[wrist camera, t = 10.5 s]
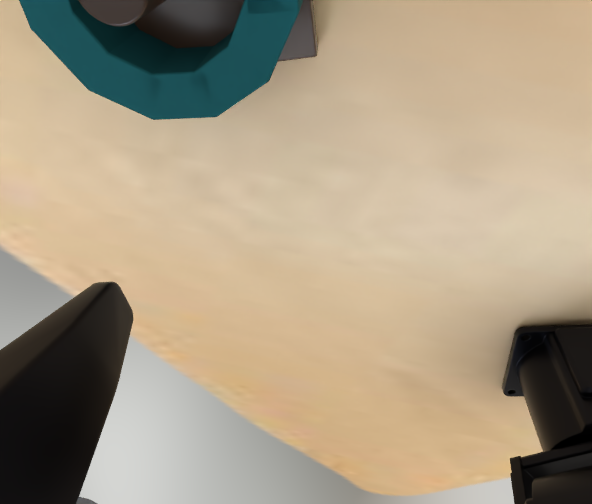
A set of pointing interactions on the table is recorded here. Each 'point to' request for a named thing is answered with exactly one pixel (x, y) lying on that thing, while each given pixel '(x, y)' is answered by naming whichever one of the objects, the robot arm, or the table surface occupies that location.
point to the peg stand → (199, 22)
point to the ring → (165, 58)
